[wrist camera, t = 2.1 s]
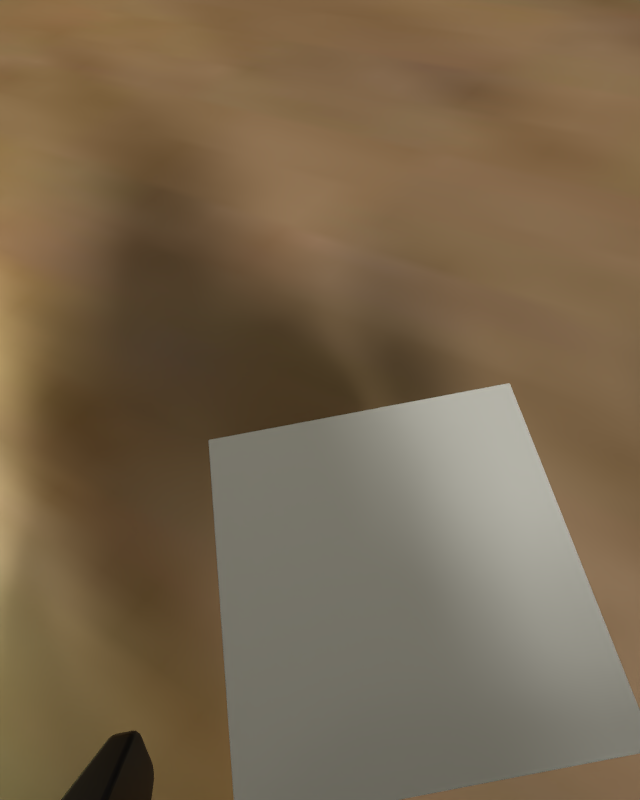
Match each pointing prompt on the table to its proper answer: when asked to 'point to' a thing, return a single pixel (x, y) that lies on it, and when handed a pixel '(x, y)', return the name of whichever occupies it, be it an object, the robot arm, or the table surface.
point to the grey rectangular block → (406, 607)
